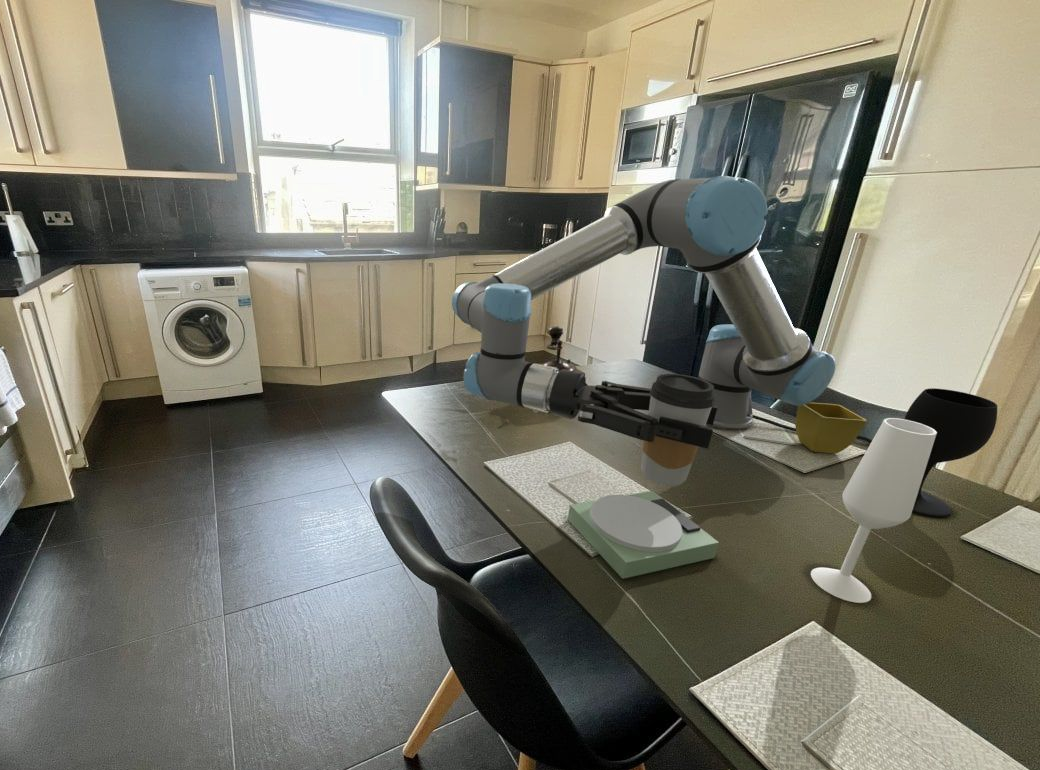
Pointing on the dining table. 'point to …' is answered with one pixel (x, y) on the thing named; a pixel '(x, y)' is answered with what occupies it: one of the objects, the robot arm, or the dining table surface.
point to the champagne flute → (880, 496)
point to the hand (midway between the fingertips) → (712, 426)
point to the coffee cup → (678, 402)
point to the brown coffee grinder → (558, 351)
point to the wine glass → (950, 434)
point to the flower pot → (827, 427)
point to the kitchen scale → (641, 533)
